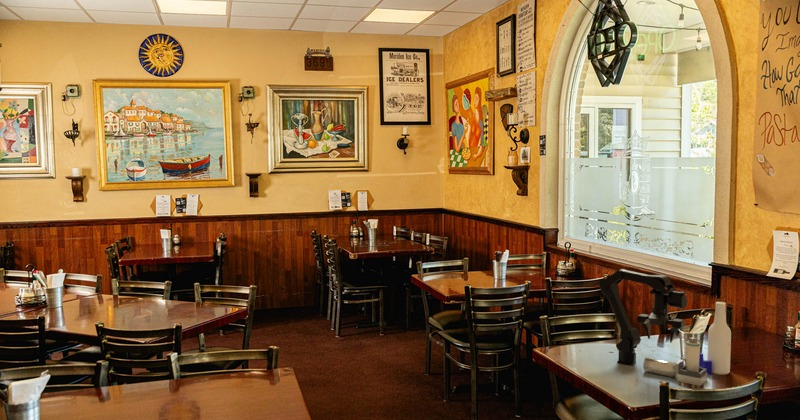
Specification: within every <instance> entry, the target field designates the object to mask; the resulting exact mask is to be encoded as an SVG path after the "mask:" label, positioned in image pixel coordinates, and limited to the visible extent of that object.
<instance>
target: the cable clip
mask: <svg viewBox="0 0 800 420" xmlns="http://www.w3.org/2000/svg"><path fill="white" fill-rule="evenodd" d="M699 367H700V368H705V369H707V372H706V373H707V376H712V374H713V373H712V361H711V360H706V359H704V353H702V352H700V354H699Z"/></svg>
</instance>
